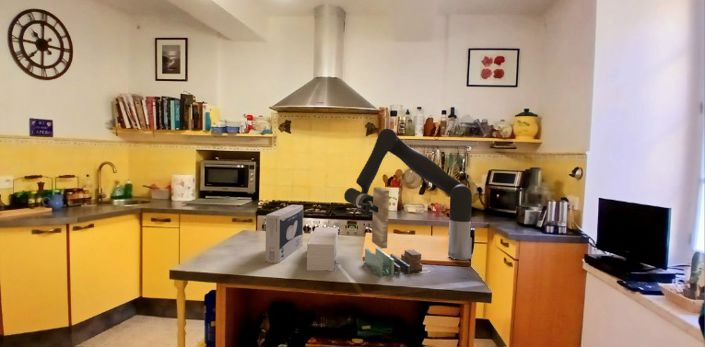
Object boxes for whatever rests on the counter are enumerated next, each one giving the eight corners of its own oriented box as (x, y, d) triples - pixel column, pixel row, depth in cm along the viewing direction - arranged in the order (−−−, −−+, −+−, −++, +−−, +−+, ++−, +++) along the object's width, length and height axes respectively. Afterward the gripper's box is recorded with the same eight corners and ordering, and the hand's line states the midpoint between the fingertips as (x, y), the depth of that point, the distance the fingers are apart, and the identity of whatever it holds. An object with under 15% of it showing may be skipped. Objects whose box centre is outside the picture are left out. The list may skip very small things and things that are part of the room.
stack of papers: (333, 271, 147) (334, 244, 146) (306, 270, 147) (307, 243, 146) (337, 249, 179) (337, 227, 178) (315, 248, 179) (315, 226, 178)
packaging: (278, 263, 155) (279, 215, 154) (265, 261, 156) (265, 215, 155) (302, 245, 185) (303, 205, 183) (291, 244, 186) (291, 204, 185)
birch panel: (377, 241, 150) (379, 187, 149) (387, 248, 141) (389, 190, 139) (371, 241, 149) (373, 187, 148) (380, 248, 140) (382, 190, 138)
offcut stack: (412, 262, 155) (412, 248, 154) (422, 269, 146) (422, 254, 146) (400, 263, 153) (401, 249, 153) (410, 270, 145) (410, 255, 144)
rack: (412, 262, 160) (413, 245, 159) (432, 275, 144) (432, 256, 143) (363, 266, 153) (363, 248, 153) (377, 280, 137) (378, 260, 136)
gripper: (351, 194, 157) (364, 200, 141) (382, 194, 161) (398, 200, 145) (350, 211, 158) (364, 220, 141) (381, 211, 162) (397, 218, 145)
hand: (381, 209), depth 143 cm, fingers closed on birch panel, 2 cm apart
